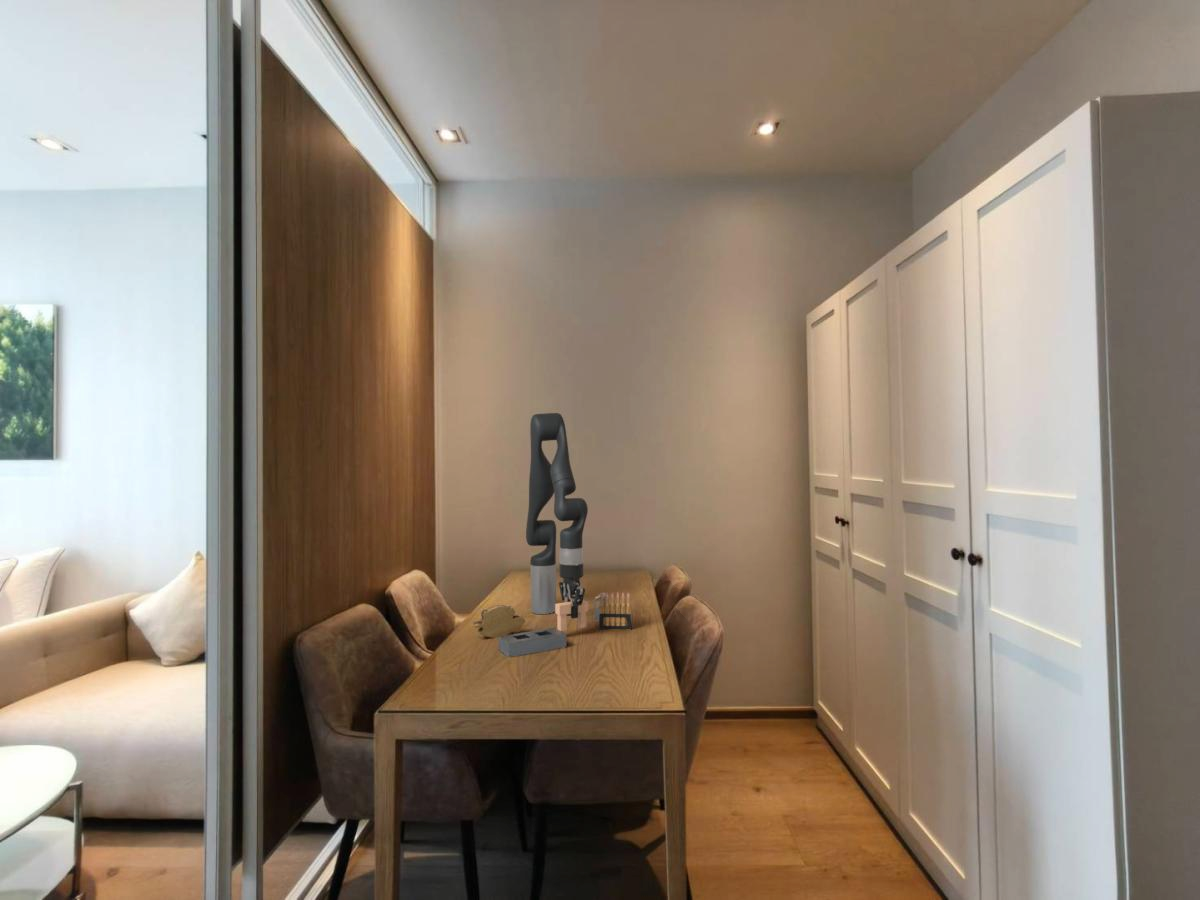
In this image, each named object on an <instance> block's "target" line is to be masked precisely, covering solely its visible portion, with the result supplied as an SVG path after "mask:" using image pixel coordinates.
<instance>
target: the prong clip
mask: <svg viewBox="0 0 1200 900" xmlns="http://www.w3.org/2000/svg"><path fill="white" fill-rule="evenodd" d="M587 612H589V601H587V600H585V599H583V602H582V605H579V606H578V618H576V619H577V621H576V623H577V624H576V625H577V626H576V627H578V628H581V629H583V628H587ZM554 614H556V616H557V619H556V620H557V625H556V627H557V628H556V629H558V630H560V631H562V632H565V631H568V629H567V628H568V627H567V625H568V624H567V623H568V622H567V617H568V616H566V614H571V602H564V601H563V602H558V603H557V602H556V604H555V612H554Z"/></svg>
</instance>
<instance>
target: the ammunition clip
mask: <svg viewBox="0 0 1200 900" xmlns="http://www.w3.org/2000/svg"><path fill="white" fill-rule="evenodd" d="M600 593H601V594H600ZM600 593H599V594H600V605H599V621H598V623H599V624H598V630H610V629H631V630H632V629H633V620H632V603H631V594H630V592H627V594H626V596H625V592H622V594H621V597H620V593H619V591H617V592H616V596H615V594H614V592H613V591H612V592H611V594H610V596H609V593H608V591H606V592H605V593H606V597H605V612H604V598H603V593H604V592H603V591H601V592H600ZM615 597H616V598H615ZM620 598H621V599H620ZM620 600H621V601H620Z"/></svg>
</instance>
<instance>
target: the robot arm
mask: <svg viewBox="0 0 1200 900" xmlns="http://www.w3.org/2000/svg"><path fill="white" fill-rule="evenodd" d="M529 431H530V434H529V436H530V466H529V476H528V477H529V479H528V480H529V481H528V510H527V518H526V519H527V520H526V530H525V539H526V544H528V546H531V547H540V546H543V547H544V546H546V547H545V548H544V549H543V550H542V551H541V552H539V553H536V554H534V555H532V556H531V557H530V561H529V562H530V563H529V564H530V612H531V613H532V614H534V613H535V615H549V613H550V614H554V613H555V604H557V560H556V558H557V557H556V555H557V552H556V551H557V525H556V522H555V520H552V519H544V520H543V519H541V520H538V518H539V516H540V514H541V512H542V510H543V509H544V508H545V506H546V505H547V504H548V503H549V501H550V500H551V499H552V498H553V496H554V503H553V505H554V506H553V514H554V516H555V518H556V519H557V520H558V521H560V522H570V521H571V522H572V523H571V525H570V526H568V527H565V528H563V529H561V530H560V533H559V553H558V554H559V557H558V558H559V559H558V561H559V568H558V569H559V577H560V578H561V579H562V581H559V582H558V586H559V587H558V588H559V591H560V597H561V601H563V603H564V602H571V614H566V616H567V617H570V618H571V619H577V618H578V606H579V605H582V602H583V600H584V597H585V593H586V589H585V588H584V587H581V581H580V579H581V578H583V577H584V551H583V531H584V528H585V523H586V520H587V516H588V511H589V510H588V509H589V508H588V504H587V501H586V500H585V499H583V498H580V497H572V498H566V496H569V495H572V494H574V493H575V491H576V489H577V486H576V485H577V484H576V482H575V478H574V475H573V470H572V467H571V462H570V453H569V445H568V438H567V430H566V425H565V420H564V417H563V416H562V415H561V414H560V413H559V412H548V413H546V412H545V413H535V414H533V415H532V416H531V419H530V429H529ZM548 441H549V442H550V441H556V444H557V447H556V452H555V455H554V458H553V459H552V462H550V461H549V460H548V458H547V457H546V455H545V453H544V451H543V447H542V445H543V442H548ZM553 612H554V613H553Z"/></svg>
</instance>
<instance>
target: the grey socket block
mask: <svg viewBox="0 0 1200 900" xmlns="http://www.w3.org/2000/svg"><path fill="white" fill-rule="evenodd" d="M563 647H566V648H567V633H566V632H565V631H560V630H558V629H557V628H556V627H551V628H545V629H538V630H531V631H525V632H517V633H512V634H511V633H510V634H508V635H505V636H499V638H498V651H499V650H500V651H499V652H501V653H502V654H503V653H504V654H503V655H504V656H506V655H507V658H515V657H518V656H524V655H525V656H526V655H531V654H536V653H542V652H547V651H548V650H549V651H554V650H559V649H558V648H560V649H564V648H563ZM553 649H554V650H553ZM514 656H515V657H514Z"/></svg>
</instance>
